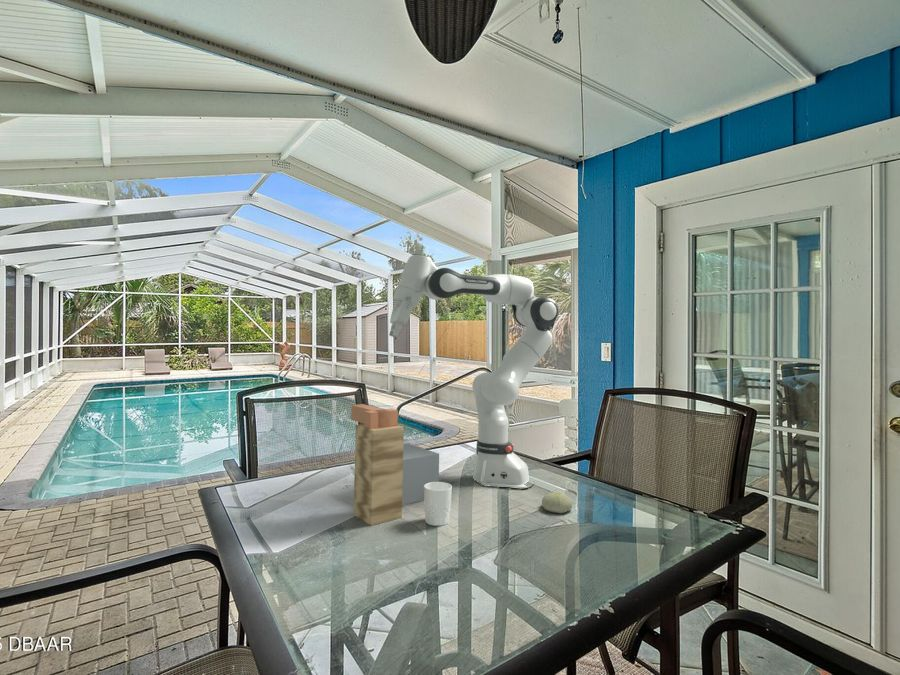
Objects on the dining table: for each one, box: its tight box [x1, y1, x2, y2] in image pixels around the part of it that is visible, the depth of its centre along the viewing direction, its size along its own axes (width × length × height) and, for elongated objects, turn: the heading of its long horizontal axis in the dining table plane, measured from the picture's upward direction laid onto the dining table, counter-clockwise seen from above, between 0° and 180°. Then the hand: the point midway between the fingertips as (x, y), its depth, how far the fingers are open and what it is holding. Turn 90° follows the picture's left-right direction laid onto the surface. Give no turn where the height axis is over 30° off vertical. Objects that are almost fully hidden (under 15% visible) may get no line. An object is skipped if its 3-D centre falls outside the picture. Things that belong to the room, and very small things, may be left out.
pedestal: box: [353, 423, 405, 527], centre depth 137 cm, size 10×10×26 cm
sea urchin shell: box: [541, 491, 573, 514], centre depth 146 cm, size 9×8×8 cm
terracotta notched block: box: [350, 403, 399, 429], centre depth 141 cm, size 16×9×4 cm, turn 39°
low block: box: [402, 443, 440, 507], centre depth 157 cm, size 18×15×14 cm
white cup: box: [423, 481, 453, 527], centre depth 134 cm, size 8×8×10 cm
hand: (393, 335), depth 163 cm, fingers open, 8 cm apart
